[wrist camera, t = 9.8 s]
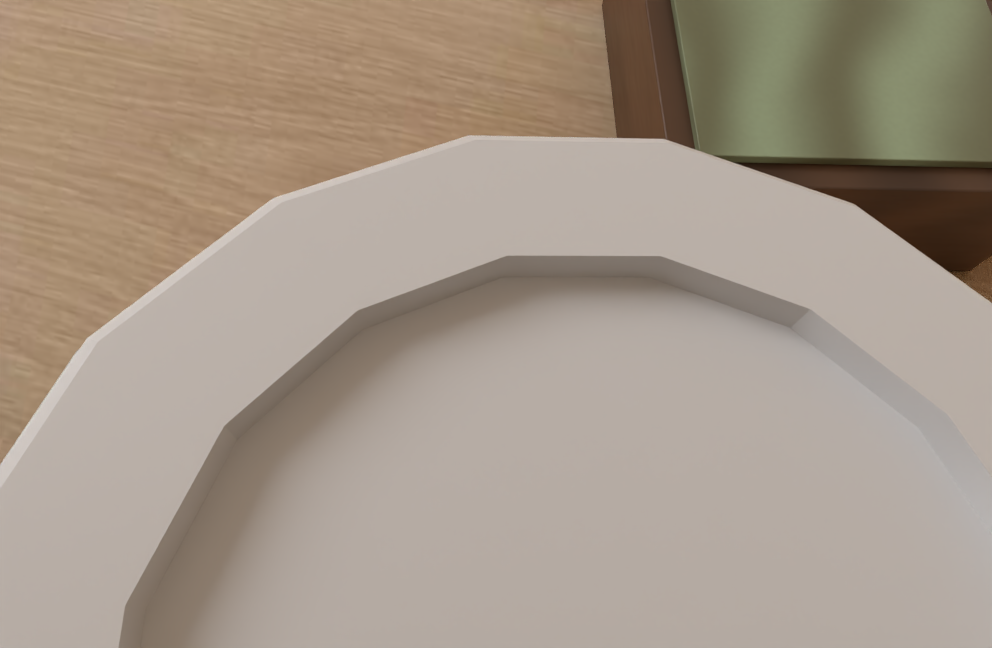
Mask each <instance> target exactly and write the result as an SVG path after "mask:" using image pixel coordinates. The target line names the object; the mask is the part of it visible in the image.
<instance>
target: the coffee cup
mask: <svg viewBox="0 0 992 648" xmlns="http://www.w3.org/2000/svg"><path fill="white" fill-rule="evenodd" d="M0 648H992V303H991V302H990V301H989V300H987V299H986V298H984V297H983V296H982V295H980V294H979V293H977V292H976V291H975V290H973V289H972V288H970V287H969V286H968V285H966V284H965V283H963V282H962V281H961V280H959V279H958V278H956V277H955V276H954V275H952V274H951V273H950V272H948V271H947V270H945V269H944V268H943V267H941V266H940V265H938V264H937V263H936V262H934V261H933V260H931V259H930V258H929V257H927V256H926V255H924V254H923V253H922V252H920V251H919V250H918V249H916V248H915V247H913V246H912V245H911V244H909V243H908V242H906V241H905V240H904V239H902V238H901V237H899V236H898V235H897V234H895V233H894V232H892V231H891V230H890V229H888V228H887V227H886V226H884V225H883V224H881V223H880V222H879V221H877V220H876V219H874V218H873V217H872V216H870V215H869V214H867V213H866V212H865V211H863V210H862V209H860V208H859V207H858V206H856V205H855V204H853V203H850V202H847V201H844V200H841V199H838V198H835V197H832V196H829V195H826V194H824V193H821V192H818V191H815V190H812V189H809V188H806V187H803V186H800V185H797V184H794V183H791V182H788V181H786V180H783V179H780V178H777V177H774V176H771V175H768V174H765V173H762V172H759V171H756V170H753V169H750V168H747V167H745V166H742V165H739V164H736V163H733V162H730V161H727V160H724V159H721V158H718V157H715V156H712V155H709V154H707V153H704V152H701V151H698V150H695V149H692V148H689V147H686V146H683V145H680V144H677V143H674V142H671V141H669V140H666V139H640V138H583V137H525V136H465V137H462V138H459V139H456V140H453V141H450V142H447V143H444V144H440V145H437V146H434V147H431V148H428V149H425V150H422V151H419V152H416V153H412V154H409V155H406V156H403V157H400V158H397V159H394V160H391V161H387V162H384V163H381V164H378V165H375V166H372V167H369V168H366V169H363V170H359V171H356V172H353V173H350V174H347V175H344V176H341V177H338V178H334V179H331V180H328V181H325V182H322V183H319V184H316V185H313V186H310V187H306V188H303V189H300V190H297V191H294V192H291V193H288V194H285V195H281V196H278V197H275V198H273V199H271V200H270V201H269V202H267V203H266V204H265V205H263V206H262V207H261V208H259V209H258V210H257V211H255V212H254V213H253V214H251V215H250V216H249V217H247V218H246V219H245V220H243V221H242V222H241V223H239V224H238V225H237V226H236V227H234V228H233V229H232V230H230V231H229V232H228V233H226V234H225V235H224V236H222V237H221V238H220V239H218V240H217V241H216V242H214V243H213V244H212V245H210V246H209V247H208V248H206V249H205V250H204V251H202V252H201V253H200V254H198V255H197V256H196V257H194V258H193V259H192V260H190V261H189V262H188V263H186V264H185V265H184V266H182V267H181V268H180V269H178V270H177V271H176V272H174V273H173V274H172V275H170V276H169V277H168V278H166V279H165V280H164V281H162V282H161V283H160V284H158V285H157V286H156V287H154V288H153V289H152V290H150V291H149V292H148V293H146V294H145V295H144V296H142V297H141V298H140V299H138V300H137V301H136V302H135V303H133V304H132V305H131V306H129V307H128V308H127V309H125V310H124V311H123V312H121V313H120V314H119V315H117V316H116V317H115V318H113V319H112V320H111V321H109V322H108V323H107V324H105V325H104V326H103V327H101V328H100V329H99V330H97V331H96V332H95V333H93V334H92V335H91V336H89V337H88V338H87V339H86V341H85V342H84V344H83V345H82V347H81V348H80V349H79V350H77V351H76V353H75V354H74V356H73V357H72V359H71V360H70V362H69V363H68V365H67V366H66V368H65V369H64V371H63V372H62V374H61V375H60V377H59V378H58V380H57V381H56V383H55V384H54V386H53V387H52V389H51V390H50V392H49V393H48V394H47V396H46V397H45V399H44V400H43V402H42V403H41V405H40V406H39V408H38V409H37V411H36V412H35V414H34V415H33V417H32V418H31V420H30V421H29V423H28V424H27V426H26V427H25V429H24V430H23V432H22V433H21V435H20V436H19V438H18V439H17V441H16V442H15V444H14V445H13V446H12V448H11V449H10V451H9V452H8V454H7V455H6V457H5V458H4V460H3V461H2V463H1V464H0Z"/></svg>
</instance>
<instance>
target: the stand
mask: <svg viewBox="0 0 992 648" xmlns="http://www.w3.org/2000/svg"><path fill="white" fill-rule="evenodd" d="M602 9H603V17H604V26H605V35H606V44H607V52H608V61H609V70H610V79H611V88H612V96H613V105H614V114H615V123H616V131H617V138H640V139H666V140H669V141H671V142H674V143H677V144H680V145H683V146H686V147H689V148H692V149H695V150H698V151H701V152H704V153H707V154H709V155H712V156H715V157H718V158H721V159H724V160H727V161H730V162H733V163H736V164H739V165H742V166H745V167H747V168H750V169H753V170H756V171H759V172H762V173H765V174H768V175H771V176H774V177H777V178H780V179H783V180H786V181H788V182H791V183H794V184H797V185H800V186H803V187H806V188H809V189H812V190H815V191H818V192H821V193H824V194H826V195H829V196H832V197H835V198H838V199H841V200H844V201H847V202H850V203H853V204H855V205H856V206H858V207H859V208H860V209H862V210H863V211H865V212H866V213H867V214H869V215H870V216H872V217H873V218H874V219H876V220H877V221H879V222H880V223H881V224H883V225H884V226H886V227H887V228H888V229H890V230H891V231H892V232H894V233H895V234H897V235H898V236H899V237H901V238H902V239H904V240H905V241H906V242H908V243H909V244H911V245H912V246H913V247H915V248H916V249H918V250H919V251H920V252H922V253H923V254H924V255H926V256H927V257H929V258H930V259H931V260H933V261H934V262H936V263H937V264H938V265H940V266H941V267H943V268H944V269H945V270H947V271H970V270H972V269H973V268H974V267H976V266H977V265H979V264H980V263H981V262H983V261H984V260H986V259H987V258H988V257H990V256H991V255H992V0H603V4H602Z"/></svg>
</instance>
